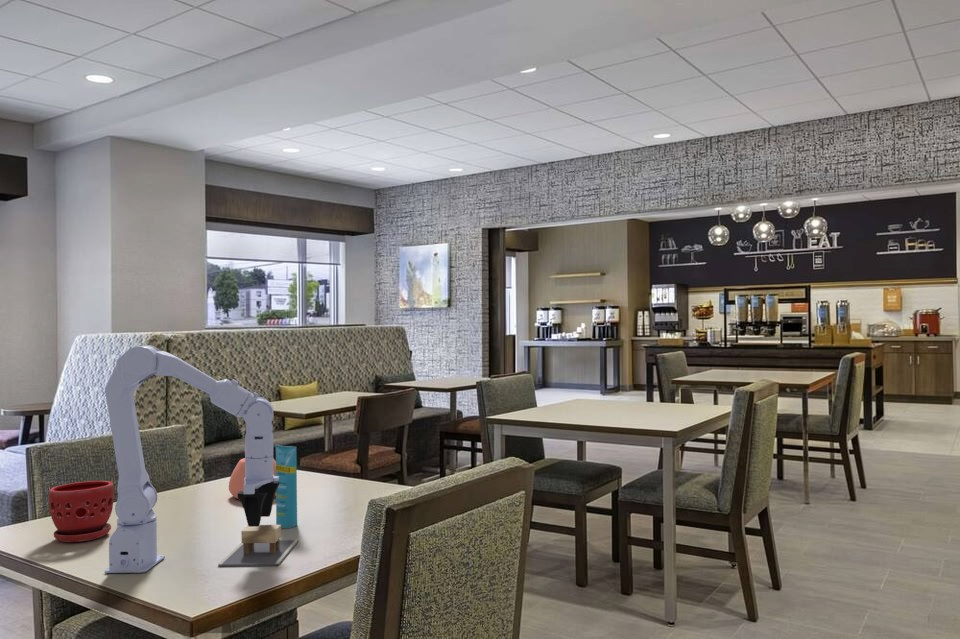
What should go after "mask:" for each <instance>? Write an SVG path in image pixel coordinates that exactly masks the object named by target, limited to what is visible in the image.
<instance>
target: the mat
mask: <svg viewBox="0 0 960 639" xmlns="http://www.w3.org/2000/svg"><path fill="white" fill-rule="evenodd" d="M298 543H299V539H294V540H293V539H289V540H287V539H286V540H284V539H283V540H281V539H280V549H279V550H276V553H275V554H274V555H270V544H269V543H254V550H250V554H249V555H244V550H243V543H242V542H241V543H239V544H238V545H237V546H236V547H235V548H234V549H233V550H232V551H231V552H230V553H229V554H227V555H226V556H225V557H224V558H223V559H222V560H221V561H220V562H219V563H218V564H217V567H218V568H220V567H222V568H223V567H225V568H226V567H279V566H280V565H281V564H282V563H283V561H284V560H285V559H286V558H287V556H288V555H289V553H291V551H293V549H294V548H295V547H296V546H297V544H298Z"/></svg>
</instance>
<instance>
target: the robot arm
mask: <svg viewBox="0 0 960 639" xmlns="http://www.w3.org/2000/svg"><path fill="white" fill-rule="evenodd" d="M154 375H155V377H173V378H174V377H175V378H177V379H178V380H180V381H182V382H184V383H186V384H188V385H190V386H192V387H194V388H196V389H198V390H200V391H202V392H204V393H205V394H208V396H209V398H210V402H211V404H213V405H215V406H216V407H218V408H220V409H222V410H224V411H225V412H227V413H229V414H230V415H232V416H235V417H237V418H243V420H244V422H245V424H246V425H245V427H246V428H245V430H246V433H245V435H244V449H245V451H244V458H245V478H244V483H245V484H244V491H240V492H239V493H238V501H240V504H241V505H242V508H243V510H244V515H245V519H246V522H247V526H249V527H258V526H259V525H261V521H262V517H264V518H265V517H270V516H271V514H272V509H273V505H274V503H273V502H274V501H275V497H276V496H275V493H276V490H277V488H278V486H279V484H280V482H279V481H278V480H279V476H274V470H273V459H274V433H273V430H274V426H273V422H272V421H273V419H274V416H275V415H274V408H273V405H272V403H271V402H270V401H269V400H267V399H266V397H263V396H259V393H258V392H256V391H254V392H253V393H252V392H251V391H249V390H247V388H246V389H245V388H243V387H242V386H241V385H239V381H238V380H236V379H231V380H229V379H228V378H224V379H221V380H217V379H215V378H213V377H212V376H210V375H208V374H207V373H205V372H203V371H201V370H199V369H198V368H197V367H195V366H193V365H192V364H190V363H188V362H186V361H185V360H183V359H181V358H180V357H178V356H176V355H173V354H172V353H170V352H167V351H165V350H160V349H159V348H158V347H155V346H153V345H148V344H146V345H141V346H133V347H131V348H129V349H128V350H126V351H125V352H124V353H123V354H122V355H121V356H120V357H119V358H117V360H116V362H115V366H114V369H113V370H112V372H111V375H110V377H109V379H108V381H107V383H106V385H105V387H104V393H105V401H106V405H107V411H108V412H107V413H108V418H109V419H108V420H109V424H110V430H111V436H112V443H113V448H114V454H115V460H116V467H117V473H118V474H117V475H118V479H117V480H118V481H117V487H116V488H117V490H116V491H117V500H116V501H115V507H114V512H115V515H116V517H117V519H116V522H117V523H116V529H115V531H114V532H113V533H112V535H111V536H110V538H109V541H108V555H109V557H108V560H109V561H108V563H109V564H108V565H109V566H108V568H106V569H105V570H104V573H105V574H117V573H118V574H125V573H128V574H129V573H130V574H132V573H140V574H141V573H146V572H147V571H149V570H150V569H152V568H153V567H154V566H156V565H157V564H158V563H160V562H161V561H162V560H164V559H165V558H166V556H165V554H158V544H157V543H158V541H157V540H158V538H157V537H158V535H157V532H158V530H157V528H158V527H157V526H158V525H157V517H158V516H157V514H156V513H155V512H154V510H153V508H154V507H155V506H156V504H157V503H158V502H157V501H158V493H157V490H156V488H155V487H154V486H153V484H152V483H151V479H150V475H149V473H148V471H147V469H146V464H145V458H144V452H143V447H142V446H143V445H142V441H141V434H140V427H139V421H138V420H139V419H138V416H137V409H136V408H137V407H136V403H135V397H134V394H135V392H136V391H137V390H138V389H139V388H140V386H142V384H143V383H144V382H145V381H146V380H148V378H150V377H152V376H154ZM274 496H275V497H274Z"/></svg>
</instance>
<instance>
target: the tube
mask: <svg viewBox="0 0 960 639" xmlns="http://www.w3.org/2000/svg"><path fill="white" fill-rule="evenodd" d="M275 461H276V476H279V480H278V481H279V482H280V484H279V486H278V488H277V490H276V496H275V498H276V499H275V500H276V501H275V502H276V503H275V508H276V510H275V514H276V515H275V520H276V521H275V522H276V523H275V525H281V529H292V528H294V527H296V526H297V525H298V490H297V488H298V485H297V484H298V482H297V478H298V477H297V476H298V475H297V472H298V471H297V470H298V469H297V463H298V462H297V461H298V460H297V446H293V445H289V446H288V445H280V444H275Z"/></svg>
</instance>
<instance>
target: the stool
mask: <svg viewBox="0 0 960 639" xmlns="http://www.w3.org/2000/svg"><path fill="white" fill-rule="evenodd" d="M240 532H241V534H240V535H241V543H243V550H244V555H249V554H250V550H254V543H269V544H270V555H274V554H275V553H276V550H279V549H280V540H281V537H282V528H281V525H276V524H260V525H259V526H258V527H249V526H248V525H247V526H246V527H244V528H243V529H242V530H241V531H240Z"/></svg>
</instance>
